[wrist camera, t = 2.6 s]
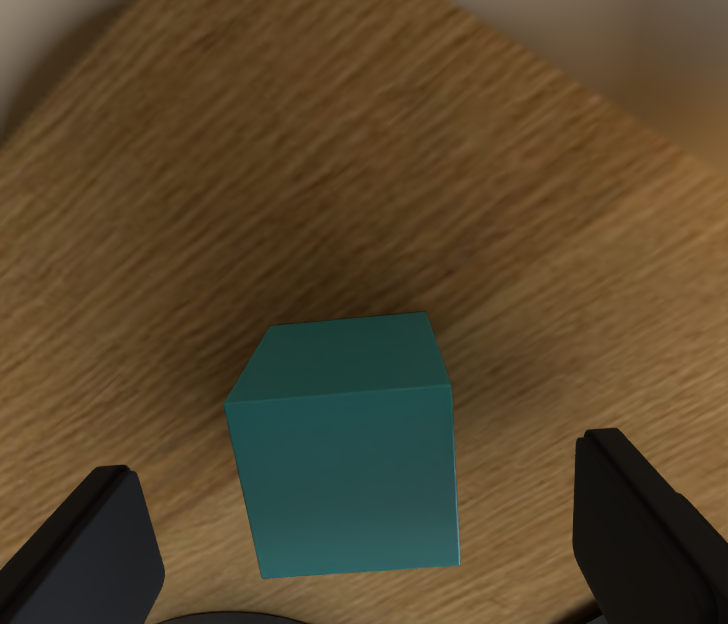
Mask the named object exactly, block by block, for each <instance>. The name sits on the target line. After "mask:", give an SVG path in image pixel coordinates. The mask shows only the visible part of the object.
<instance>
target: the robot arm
mask: <svg viewBox="0 0 728 624" xmlns="http://www.w3.org/2000/svg"><path fill="white" fill-rule="evenodd" d="M572 542H573V551H574V555H575V558H576V561H577V563H578V565H579V567H580V569H581V571H582V573H583V575H584V577H585V579H586V581H587V583H588V585H589V587H590V589H591V591H592V593H593V595H594V597H595V599H596V601H597V603H598V605H599V607H600V609H601V611H602V613H603V615H604V617H605V619H606V621H607V623H608V624H728V543H727V542H726V541H725V540H724V539H723V537H722V536H721V535H720V534H719V533H718V532H717V531H716V530H715V529H714V528H713V527H712V526H711V524H710V523H709V522H708V521H707V520H706V519H705V518H704V517H703V516H702V515H701V514H700V513H699V511H698V510H697V509H696V508H695V507H694V506H693V505H692V504H691V503H690V502H689V501H688V500H687V499H686V498H685V497H684V496H683V495H682V494H680V493H677V492H675V490H674V489H673V488H672V487H671V486H670V485H669V484H668V483H667V482H666V481H665V479H664V478H663V477H662V476H661V475H660V474H659V473H658V472H657V471H656V470H655V468H654V467H653V466H652V465H651V464H650V463H649V462H648V461H647V460H646V459H645V457H644V456H643V455H642V454H641V453H640V452H639V451H638V450H637V449H636V448H635V446H634V445H633V444H632V443H631V442H630V441H629V440H628V439H627V438H626V437H625V435H624V434H623V433H622V432H621V431H620V430H619V429H617V428H604V429H591V430H587V431H586V432H585V434H584V437H581V438H578V439H577V441H576V454H575V483H574V512H573V541H572ZM164 577H165V570H164V565H163V562H162V558H161V555H160V551H159V548H158V544H157V541H156V537H155V534H154V530H153V527H152V523H151V520H150V516H149V513H148V509H147V506H146V502H145V499H144V495H143V492H142V488H141V485H140V481H139V478H138V475H137V473H136V472H134V471H130V468H129V467H128V466H126V465H112V466H100V467H96V468H95V469H94V470H92V471H91V473H90V474H89V475H88V476H87V477H86V478H85V479H84V480H83V481H82V482H81V483H80V485H79V486H78V487H77V488H76V489H75V490H74V491H73V492H72V493H71V494H70V495H69V496H68V498H67V499H66V500H65V501H64V502H63V503H62V504H61V505H60V506H59V507H58V508H57V509H56V511H55V512H54V513H53V514H52V515H51V516H50V517H49V518H48V519H47V520H46V521H45V523H44V524H43V525H42V526H41V527H40V528H39V529H38V530H37V531H36V532H35V533H34V534H33V536H32V537H31V538H30V539H29V540H28V541H27V542H26V543H25V544H24V545H23V546H22V547H21V549H20V550H19V551H18V552H17V553H16V554H15V555H14V556H13V557H12V558H11V559H10V561H9V562H8V563H7V564H6V565H5V566H4V567H3V568H2V569H1V570H0V624H144V622H145V620H146V618H147V616H148V614H149V612H150V610H151V608H152V606H153V604H154V602H155V600H156V599H157V597H158V595H159V593H160V591H161V588H162V586H163V583H164Z"/></svg>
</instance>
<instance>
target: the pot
mask: <svg viewBox="0 0 728 624" xmlns="http://www.w3.org/2000/svg"><path fill="white" fill-rule="evenodd" d="M161 624H303V623H300V622H296V621H293V620H289V619H286V618H280V617H275V616H269V615H264V614H253V613H242V612H221V613H207V614H198V615H191V616H186V617H182V618H178V619H173V620H169V621H166V622H164V623H161Z"/></svg>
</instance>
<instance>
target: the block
mask: <svg viewBox="0 0 728 624" xmlns="http://www.w3.org/2000/svg"><path fill="white" fill-rule="evenodd" d="M223 405H224V410H225V414H226V419H227V423H228V428H229V433H230V437H231V442H232V446H233V451H234V455H235V460H236V464H237V469H238V473H239V478H240V482H241V487H242V491H243V496H244V501H245V505H246V510H247V514H248V519H249V523H250V528H251V532H252V537H253V541H254V546H255V550H256V555H257V559H258V564H259V569H260V573H261V577H262V578H263V579H265V578H280V577H295V576H310V575H325V574H341V573H356V572H371V571H386V570H401V569H417V568H432V567H447V566H459V565H460V563H461V561H460V541H459V521H458V501H457V481H456V461H455V441H454V421H453V401H452V385H451V382H450V379H449V376H448V373H447V370H446V367H445V365H444V362H443V359H442V356H441V353H440V350H439V347H438V344H437V341H436V338H435V335H434V332H433V329H432V327H431V324H430V321H429V318H428V315H427V312H416V313H405V314H394V315H383V316H372V317H361V318H351V319H340V320H329V321H318V322H307V323H296V324H285V325H274V326H270V327H269V328H268V330H267V332H266V333H265V335H264V337H263V338H262V340H261V342H260V343H259V345H258V347H257V348H256V350H255V352H254V353H253V355H252V357H251V358H250V360H249V362H248V363H247V365H246V367H245V368H244V370H243V372H242V373H241V375H240V377H239V378H238V380H237V382H236V383H235V385H234V387H233V388H232V390H231V392H230V394H229V395H228V397H227V399H226V400H225V402H224V404H223Z"/></svg>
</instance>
